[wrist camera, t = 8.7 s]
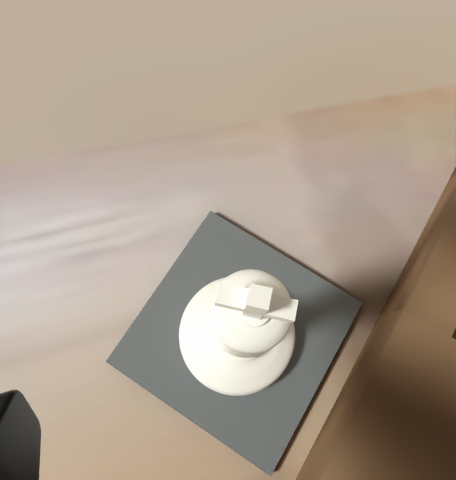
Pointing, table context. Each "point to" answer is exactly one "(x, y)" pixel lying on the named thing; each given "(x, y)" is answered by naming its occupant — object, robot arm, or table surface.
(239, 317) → the chess piece
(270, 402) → the rubber mat
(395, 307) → the brown slab with hole
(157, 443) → the table surface
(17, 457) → the robot arm
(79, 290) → the table surface
